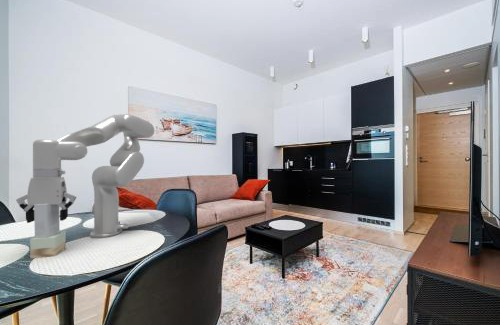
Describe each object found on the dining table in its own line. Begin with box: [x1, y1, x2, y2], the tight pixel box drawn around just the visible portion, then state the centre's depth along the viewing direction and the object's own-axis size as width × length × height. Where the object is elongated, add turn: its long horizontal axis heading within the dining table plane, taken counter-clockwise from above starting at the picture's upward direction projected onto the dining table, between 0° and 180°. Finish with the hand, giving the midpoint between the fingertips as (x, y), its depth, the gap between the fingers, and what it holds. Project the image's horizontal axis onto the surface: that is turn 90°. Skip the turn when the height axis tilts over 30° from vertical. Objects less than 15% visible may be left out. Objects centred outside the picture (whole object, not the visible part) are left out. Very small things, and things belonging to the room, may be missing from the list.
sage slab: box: [29, 230, 67, 249], centre depth 79 cm, size 7×7×4 cm
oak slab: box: [29, 241, 66, 259], centre depth 79 cm, size 7×7×4 cm
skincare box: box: [33, 203, 61, 238], centre depth 79 cm, size 6×4×12 cm
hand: (47, 220), depth 79 cm, fingers open, 9 cm apart
